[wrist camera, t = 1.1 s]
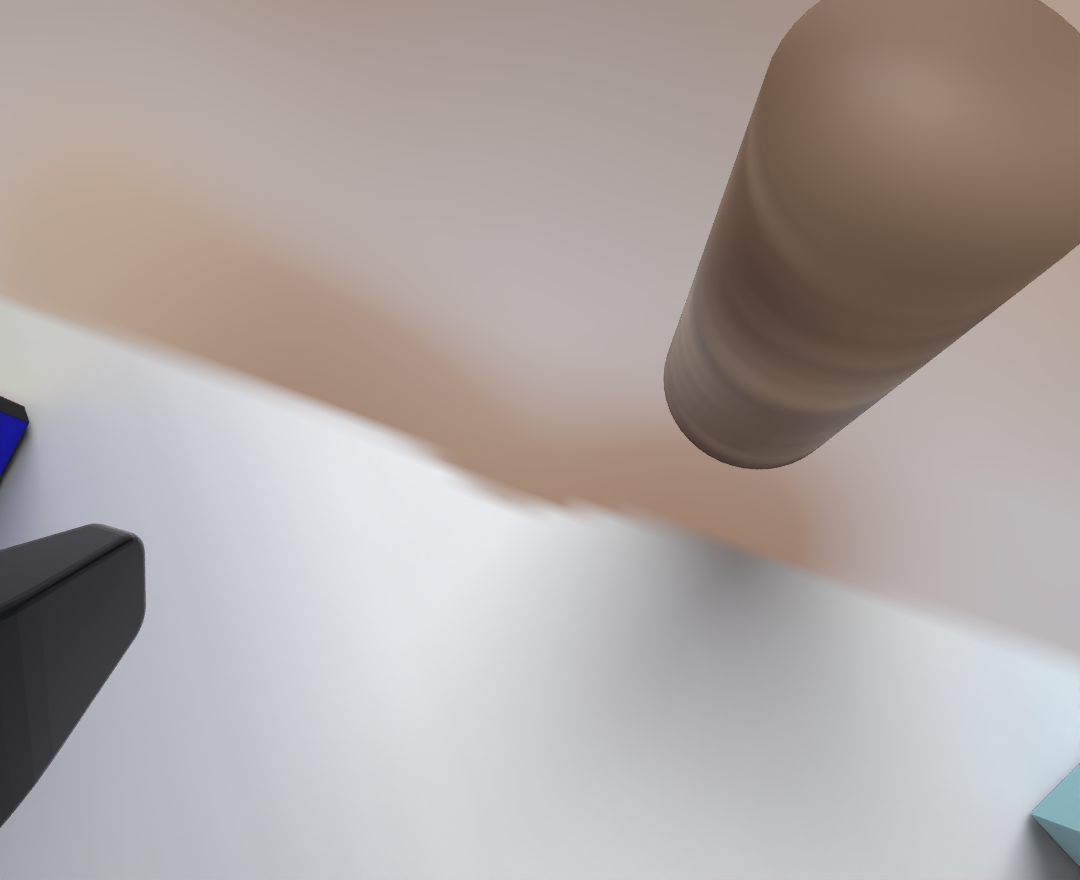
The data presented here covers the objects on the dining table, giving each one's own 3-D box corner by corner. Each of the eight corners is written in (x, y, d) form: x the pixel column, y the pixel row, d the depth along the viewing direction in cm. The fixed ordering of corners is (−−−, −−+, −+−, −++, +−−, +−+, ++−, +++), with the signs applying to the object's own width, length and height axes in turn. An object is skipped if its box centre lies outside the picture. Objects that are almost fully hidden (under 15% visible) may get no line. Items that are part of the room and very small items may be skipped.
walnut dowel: (868, 446, 21) (1181, 244, 10) (689, 486, 21) (819, 322, 10) (815, 280, 22) (1050, -63, 11) (644, 317, 22) (719, 7, 11)
